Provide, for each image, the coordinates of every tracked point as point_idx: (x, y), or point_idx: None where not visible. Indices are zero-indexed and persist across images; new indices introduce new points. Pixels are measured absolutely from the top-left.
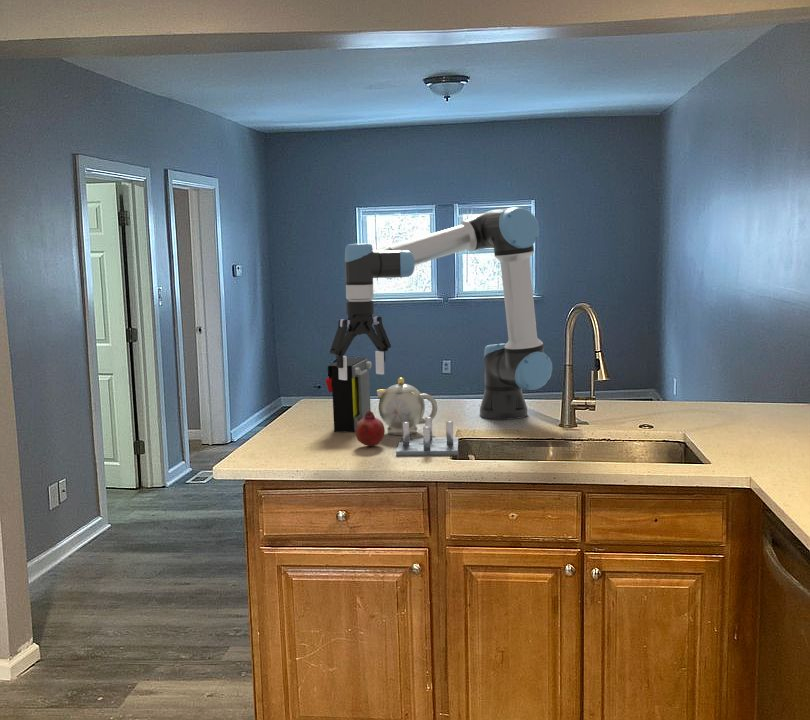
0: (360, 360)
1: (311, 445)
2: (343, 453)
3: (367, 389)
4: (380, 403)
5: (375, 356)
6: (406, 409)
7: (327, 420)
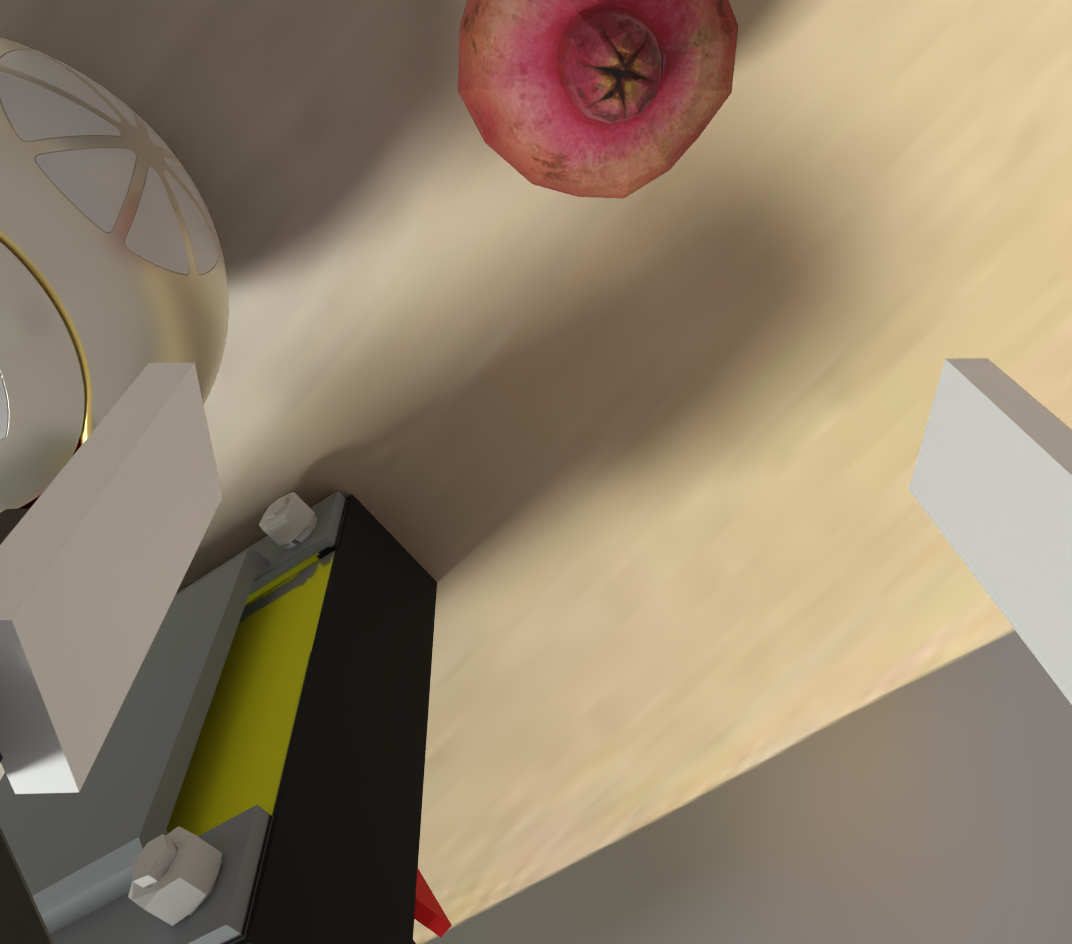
0: None
1: (789, 410)
2: (867, 36)
3: None
4: None
5: (123, 698)
6: (41, 73)
7: None
